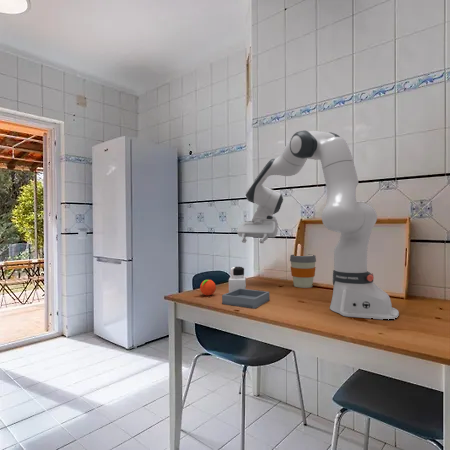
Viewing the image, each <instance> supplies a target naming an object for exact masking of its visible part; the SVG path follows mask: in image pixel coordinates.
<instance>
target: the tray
mask: <svg viewBox="0 0 450 450" xmlns="http://www.w3.org/2000/svg"><path fill="white" fill-rule="evenodd" d="M269 301H270V291H265V290H257V289H247V288H246V289H240V288H239V289H236V290H234V291H231V292H229V291H228V292H227V293H226V292H225V293H224V294H222V295H221V305H226V306H233V307H235V306H236V307H240V308H247V309H248V308H249V309H253V310H254V309H257V308H259V307H260V306H262V305H264V304H266V303H267V302H269Z"/></svg>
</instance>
